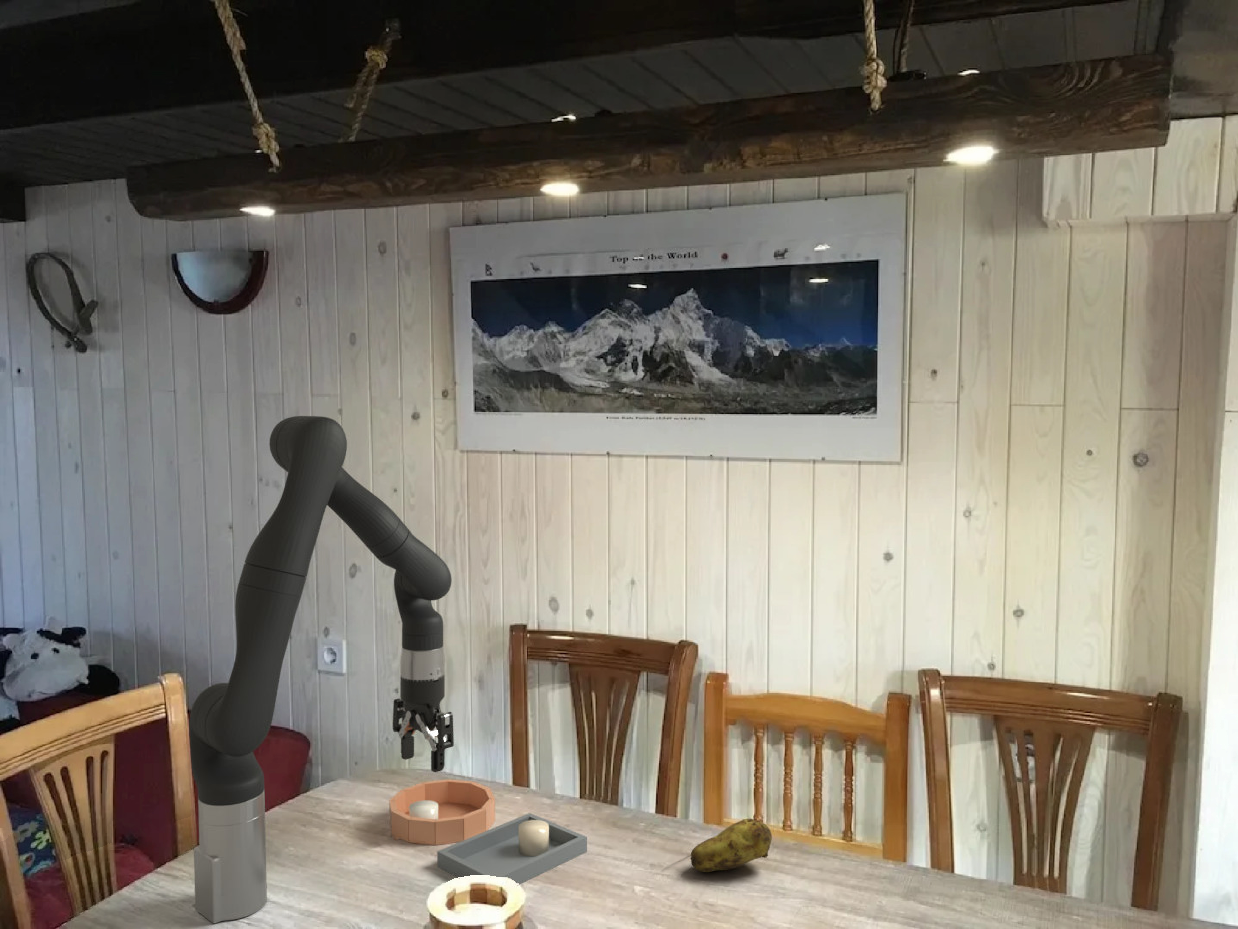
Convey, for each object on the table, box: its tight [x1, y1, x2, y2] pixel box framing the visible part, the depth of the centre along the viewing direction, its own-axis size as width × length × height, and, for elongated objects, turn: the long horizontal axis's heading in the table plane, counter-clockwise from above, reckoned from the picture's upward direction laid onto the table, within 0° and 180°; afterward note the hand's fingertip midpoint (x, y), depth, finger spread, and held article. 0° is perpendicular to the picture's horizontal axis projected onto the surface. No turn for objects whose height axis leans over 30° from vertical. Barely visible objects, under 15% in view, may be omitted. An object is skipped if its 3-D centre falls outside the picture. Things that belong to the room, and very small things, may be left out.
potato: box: [690, 818, 773, 873], centre depth 161 cm, size 8×13×8 cm, turn 81°
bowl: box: [388, 778, 496, 846], centre depth 176 cm, size 18×18×5 cm
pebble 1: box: [409, 800, 438, 819], centre depth 173 cm, size 5×5×4 cm
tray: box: [436, 812, 588, 885], centre depth 162 cm, size 20×14×4 cm
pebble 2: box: [519, 820, 549, 857], centre depth 165 cm, size 5×5×4 cm
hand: (422, 764), depth 173 cm, fingers open, 8 cm apart
